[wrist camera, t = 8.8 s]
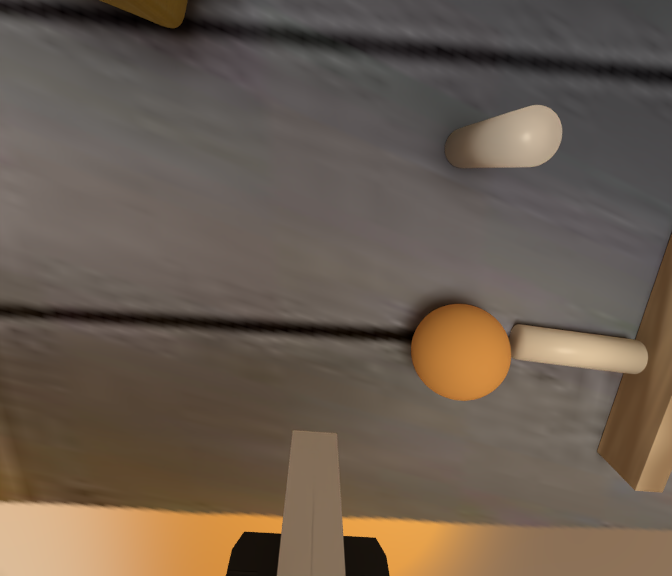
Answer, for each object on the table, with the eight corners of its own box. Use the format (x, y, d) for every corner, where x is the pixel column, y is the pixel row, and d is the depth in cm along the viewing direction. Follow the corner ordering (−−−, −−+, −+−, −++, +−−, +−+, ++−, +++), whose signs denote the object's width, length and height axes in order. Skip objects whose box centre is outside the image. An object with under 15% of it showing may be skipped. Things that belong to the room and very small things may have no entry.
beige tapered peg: (441, 166, 25) (498, 163, 17) (448, 124, 24) (511, 101, 16) (478, 170, 25) (553, 169, 17) (486, 129, 25) (568, 108, 16)
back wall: (597, 451, 32) (635, 490, 28) (675, 222, 27) (734, 231, 23) (621, 453, 32) (662, 492, 28) (703, 225, 27) (767, 234, 23)
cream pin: (520, 365, 27) (640, 380, 27) (530, 332, 26) (653, 348, 27) (504, 350, 29) (615, 364, 30) (513, 319, 28) (626, 334, 29)
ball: (515, 403, 26) (439, 363, 30) (540, 317, 24) (456, 287, 29) (462, 433, 22) (384, 382, 26) (488, 333, 20) (400, 296, 25)
